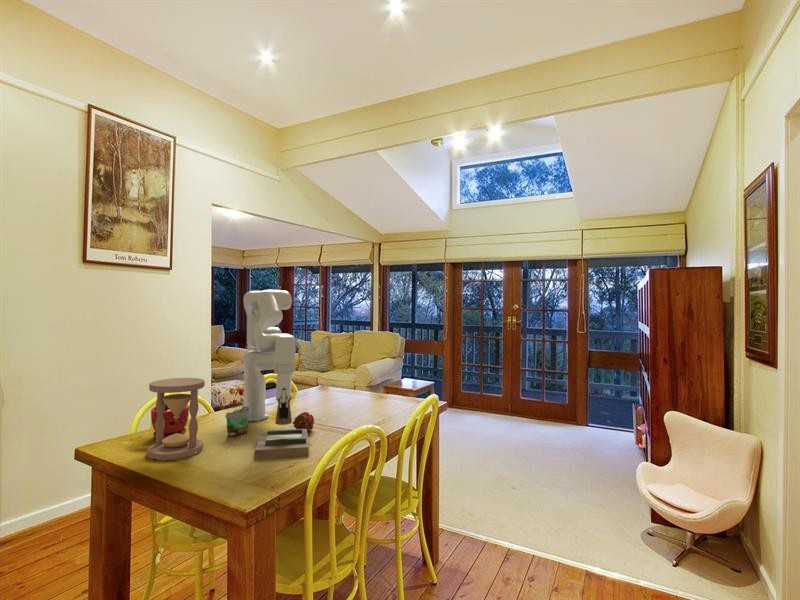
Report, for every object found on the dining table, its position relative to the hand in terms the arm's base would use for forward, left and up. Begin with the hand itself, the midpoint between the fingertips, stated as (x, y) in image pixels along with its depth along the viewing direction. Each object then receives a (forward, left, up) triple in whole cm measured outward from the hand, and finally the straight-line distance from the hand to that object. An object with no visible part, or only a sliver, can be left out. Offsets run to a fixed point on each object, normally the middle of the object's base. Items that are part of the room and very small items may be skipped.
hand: (283, 416), depth 155 cm
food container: (-19, -17, -12) cm, 28 cm away
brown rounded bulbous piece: (0, 0, -2) cm, 2 cm away
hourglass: (-2, -37, -12) cm, 39 cm away
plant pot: (-21, -44, -12) cm, 50 cm away
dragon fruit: (-19, +8, -12) cm, 24 cm away
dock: (0, 0, -11) cm, 11 cm away
